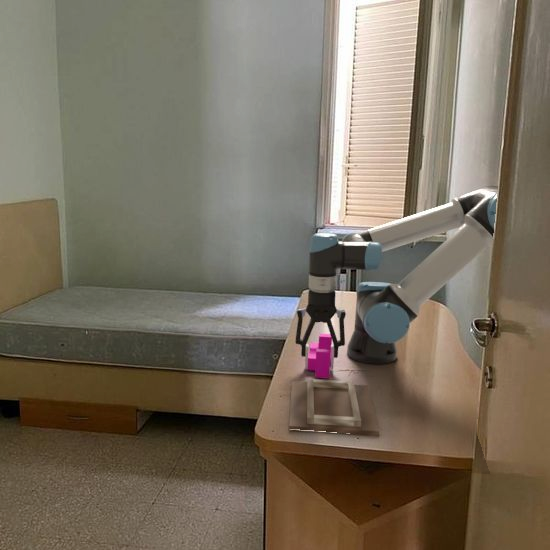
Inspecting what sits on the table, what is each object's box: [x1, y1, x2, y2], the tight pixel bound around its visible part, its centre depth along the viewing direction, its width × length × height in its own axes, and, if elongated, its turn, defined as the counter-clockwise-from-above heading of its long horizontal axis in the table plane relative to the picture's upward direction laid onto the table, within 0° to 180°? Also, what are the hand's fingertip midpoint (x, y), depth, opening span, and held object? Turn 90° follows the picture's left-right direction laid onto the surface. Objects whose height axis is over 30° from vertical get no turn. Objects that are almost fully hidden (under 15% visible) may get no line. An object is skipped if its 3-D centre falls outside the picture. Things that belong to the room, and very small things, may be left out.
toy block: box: [307, 333, 333, 379], centre depth 153 cm, size 15×6×8 cm, turn 172°
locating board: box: [288, 378, 380, 436], centre depth 131 cm, size 20×24×3 cm
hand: (319, 367), depth 153 cm, fingers closed on toy block, 6 cm apart
